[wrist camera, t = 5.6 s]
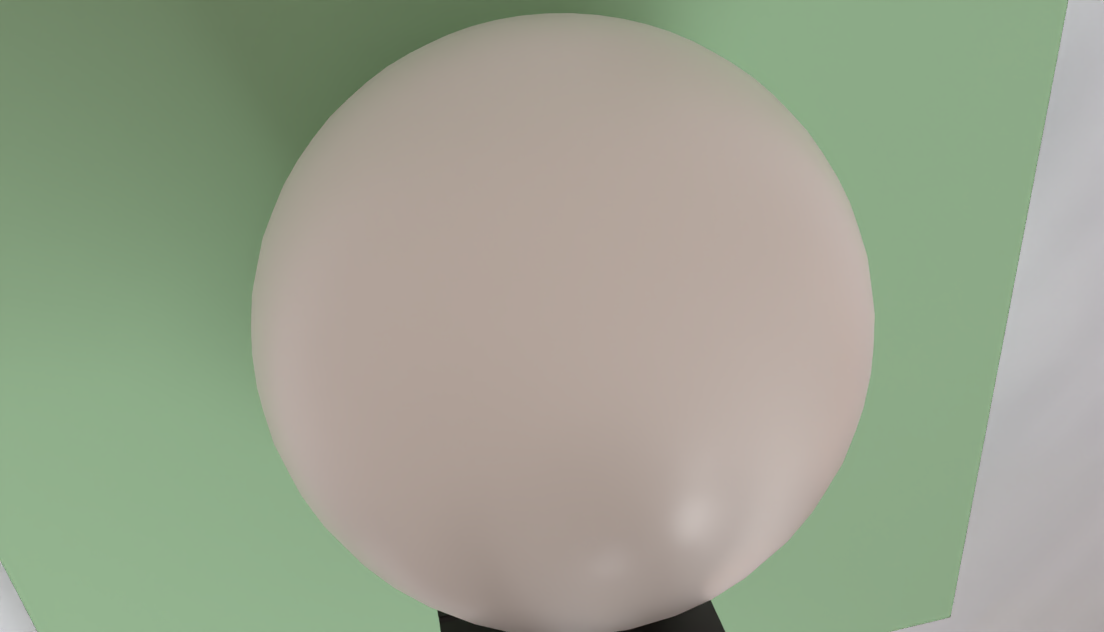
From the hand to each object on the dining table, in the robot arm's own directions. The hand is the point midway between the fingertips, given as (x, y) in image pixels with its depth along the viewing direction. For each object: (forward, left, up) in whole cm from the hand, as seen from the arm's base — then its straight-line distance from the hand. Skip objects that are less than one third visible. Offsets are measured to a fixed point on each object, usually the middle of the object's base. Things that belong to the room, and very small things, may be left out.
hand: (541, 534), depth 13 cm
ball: (0, -4, +1) cm, 4 cm away
